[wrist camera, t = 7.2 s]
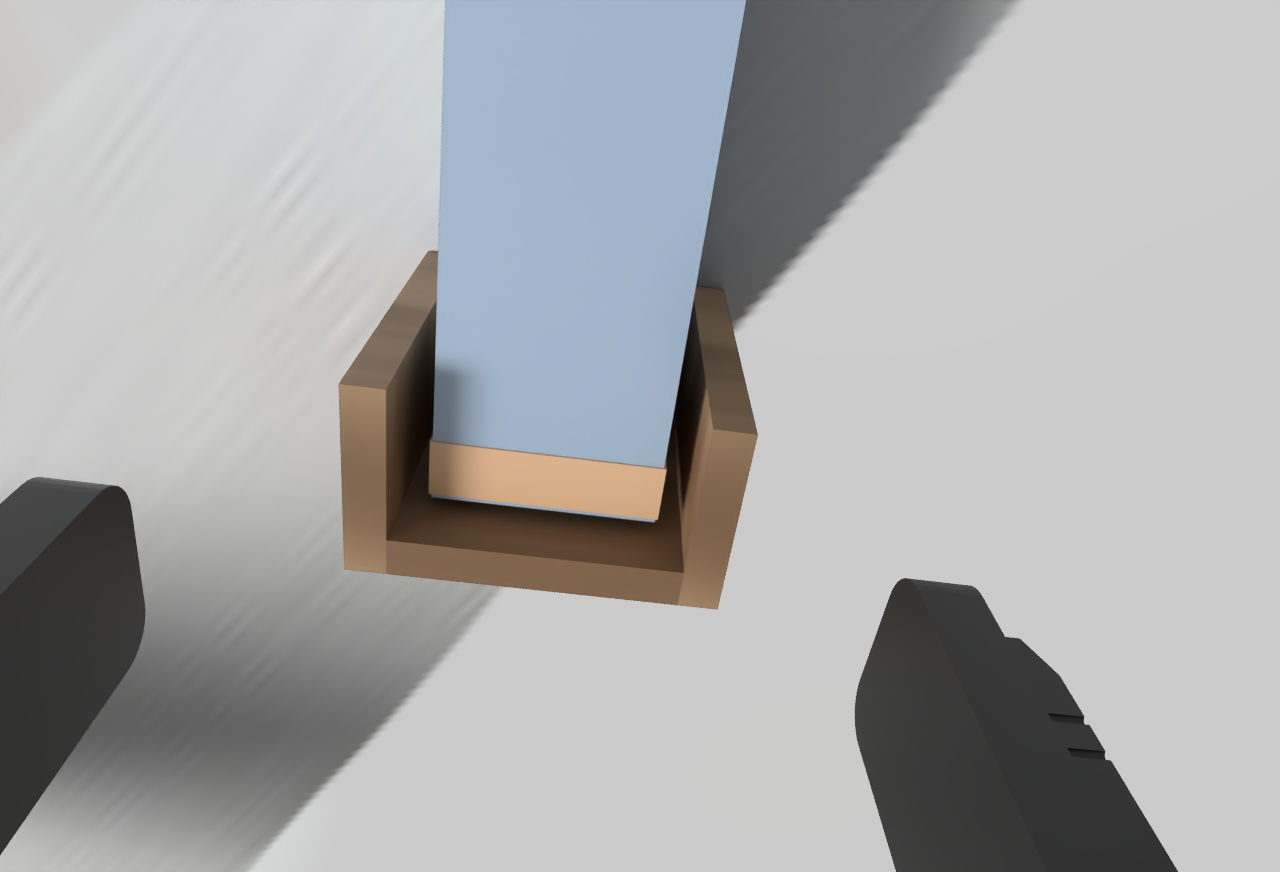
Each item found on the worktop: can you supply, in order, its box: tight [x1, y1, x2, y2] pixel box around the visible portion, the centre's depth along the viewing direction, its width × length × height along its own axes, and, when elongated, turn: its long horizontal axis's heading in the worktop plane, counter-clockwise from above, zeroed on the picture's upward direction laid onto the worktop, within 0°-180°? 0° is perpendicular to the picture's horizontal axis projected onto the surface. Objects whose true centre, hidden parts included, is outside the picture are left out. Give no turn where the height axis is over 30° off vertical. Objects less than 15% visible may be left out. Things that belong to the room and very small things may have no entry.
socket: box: [339, 251, 758, 609], centre depth 20 cm, size 4×7×7 cm, turn 82°
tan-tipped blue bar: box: [429, 0, 746, 522], centre depth 17 cm, size 16×5×6 cm, turn 172°
